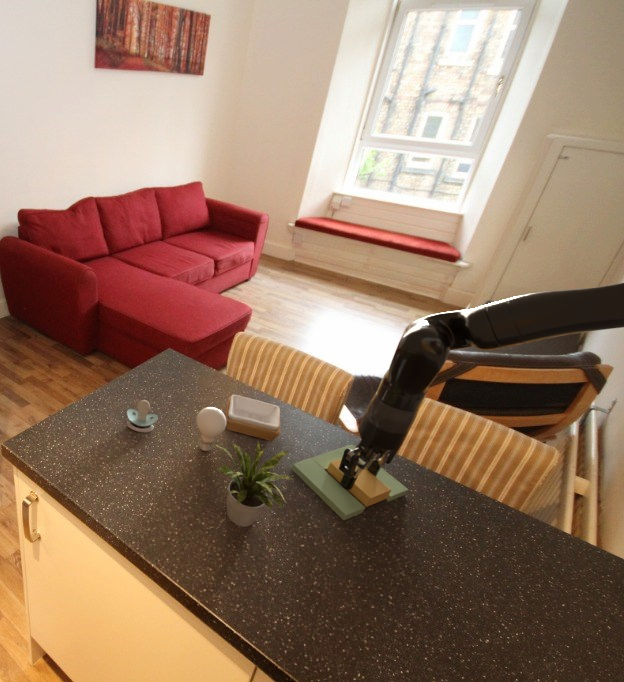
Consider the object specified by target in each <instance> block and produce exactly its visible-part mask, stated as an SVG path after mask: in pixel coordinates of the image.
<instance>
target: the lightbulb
mask: <svg viewBox="0 0 624 682" xmlns="http://www.w3.org/2000/svg"><path fill="white" fill-rule="evenodd" d="M195 424H196V425H195V426H196V427H197V430H198V431H199V436H200V437H199V438H200V440H199V444H198V447H199V449H200V450H202V451H204V452H210V451H211V450H212V447H213V444H214V442H215V440H216V438H217V437H219V436H220V435H221V434H223V432H225V430H226V429H227V428H226V417H225V413H224V412H223V410H221V409H219V408H217V407H215V406H207V407H204V408H202V409H201V410H199V412H198V413H197V415H196V419H195ZM211 443H212V444H211Z"/></svg>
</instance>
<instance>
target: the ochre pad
mask: <svg viewBox="0 0 624 682" xmlns="http://www.w3.org/2000/svg"><path fill="white" fill-rule="evenodd" d="M341 460H342V459H339V460H336V461H333V462H330V464H329V466H328V469H327V473H328V474H329V475H330V476H332V477H333V478H334V479H335V480H336V481H337V482H338V483H339V484H340V485H341V486H343V485H342V484H341V480H342V478H343V475H344V473H343V472H341V471H340V470H339V466H340V463H341ZM357 468H358V466H356V469H355V471H356V470H357ZM347 491H348V492H349V493H350V494H351V495H352V496H353V497H355V498H356V499H357V500H358V501H359V502H360V503H361V504H362V505H363V506H364V507H365V508H367V507H370V506H372V505H374V504H377V503H380V502H382V501H385V500H386V499H387V497H388V495H389V494H390V492H391V489H390V488H389V487H387V486H386V485H385V484H384V483H383V482H381V481H380V480H379V479H378V478H377V477H375V476H374V475H373V474H372V473H370V472H369V471H368V470H362V472H361V473H360V474H359V475H358V477H357V479H356V481H355V483H354V485H353V487H352V489H350V490H347Z"/></svg>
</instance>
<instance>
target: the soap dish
mask: <svg viewBox="0 0 624 682" xmlns="http://www.w3.org/2000/svg"><path fill="white" fill-rule="evenodd" d="M224 415H225V417H226V428H225V429H226V430H228V431H231V432H235V433H239V434H243V435H246V436H249V437H254V438H258V439H261V440H266V441H267V442H269V441H270V442H272V441H273V440H274V439H276V438H277V437H279V436H280V435H281V409H280V406H278V405H275V404H272V403H269V402H265V401H261V400H258V399H254V398H251V397H245V396H242V395H239V394H238V395H237V394H232V395H230V396H228V398H227V403H226V408H225V413H224Z"/></svg>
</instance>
